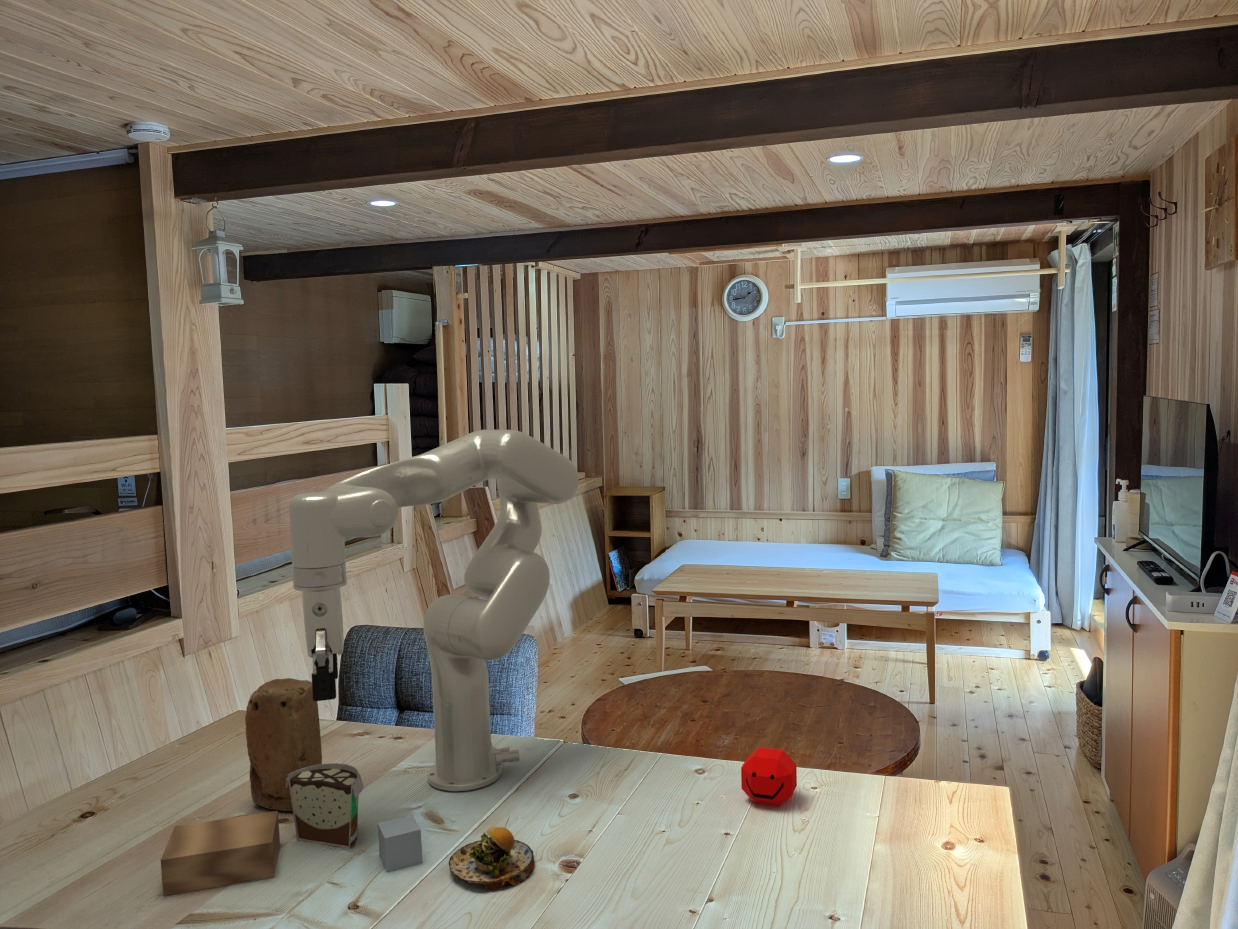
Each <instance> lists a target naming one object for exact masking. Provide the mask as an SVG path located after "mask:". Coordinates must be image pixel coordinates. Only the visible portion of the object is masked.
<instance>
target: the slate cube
mask: <svg viewBox="0 0 1238 929" xmlns="http://www.w3.org/2000/svg"><path fill="white" fill-rule="evenodd" d="M377 837H378V839H377V840H378V854H379V858H380V860H381V862H382V864H383V867H384V869H385V871H386V873H389V872H392V871H397V870H401V869H404V868H408V867H412V866H417V865H420V864H423V863H424V861H423V849H422V848H423V846H422V845H423V844H422V829H421V827H420V826H419V824H418V823H417V820H416V819H415V817H414V816H413V814H411V815H405V816H402V817H398V818H394V819H393V818H392V819H389V820H385V821H380V822H377Z"/></svg>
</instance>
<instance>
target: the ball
mask: <svg viewBox="0 0 1238 929" xmlns="http://www.w3.org/2000/svg"><path fill="white" fill-rule="evenodd" d="M797 772H798V771H797V763H796V762H795V761H794V760H793V759H792V758H791V756H790V755H788V753H787V752H785V750H783V749H777V748H769V747H758V748H756V750H754V751H753V752H752V753H751V754H750V755H749V756H748V757H747V758H746V759H745V761H744V762H743V764H742V766H741V767H740V776H741V778H740V780H741V790H742V791H743V792H744V794H745V795H746V796H747V797H748V798H749V799H750V800H751V801H752V802H753V803H754V804H756V805H763V806H772V807H781V806H782V805H783V804H784V803H785V802H787V801H788V800H789V799H790V798H791V797H792V796H793V794H794V792H795V790H796V789H797V785H798V783H797V782H798V776H797Z"/></svg>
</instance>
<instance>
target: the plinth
mask: <svg viewBox="0 0 1238 929" xmlns="http://www.w3.org/2000/svg"><path fill="white" fill-rule="evenodd" d="M280 838H281V836H280V824H279V810H273V811H268V812H262V813H261V812H260V813H255V814H247V815H240V816H234V817H227V818H222V819H221V818H220V819H213V820H206V821H201V822H200V821H199V822H194V823H188V824H187V823H186V824H181V825H175V826H174V827H173V829H172V832H171V835H170V836H169V839H168V842H167V844H166V846H165V848H164V850H163V854H162V855H161V858H160V870H161V882H162V896H163V897H166V896H172V895H177V894H184V893H189V892H194V891H200V890H206V889H212V888H218V887H224V886H230V885H235V884H242V883H248V882H254V881H260V880H266V879H270V878H275V875H276V868H277V864H278V858H279V852H280V846H281V839H280ZM165 895H166V896H165Z"/></svg>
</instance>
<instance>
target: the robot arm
mask: <svg viewBox="0 0 1238 929" xmlns="http://www.w3.org/2000/svg"><path fill="white" fill-rule="evenodd" d="M492 479H496V487H497V492H498V498H499V503H500V507H499V515H498V517H497V521H496V523H495V524H494V526H493V527H492V529H491V531H490V532H489V534H488V535H487V537H486V538H485V540H484V541H483V542H482V544H481V545H480V547H479V548H478V549H477V550H476V552H475V554H474V555H473V556H472V558H471V559H470V561H469V563H468V564H467V566H466V569H465V571H464V575H463V577H464V578H463V580H464V581H463V582H464V586H465V587H466V589H467V590H468V591H469V593H471V594H472V595H474V596H476V597H474V596H469V595H463V594H454V593H453V594H445V595H442V596H439V597H437V598H436V599H434V600H433V601H432V602H431V603H430V605H429V606H428V607H427V608H426V610H425V614H424V616H423V622H422V624H423V626H422V627H423V635H424V639H425V643H426V644H425V645H426V648H427V649H426V650H427V652H428V653H427V654H428V656H429V664H430V672H431V681H432V682H431V684H432V688H431V689H432V706H433V707H432V708H433V711H432V712H433V725H434V726H433V727H434V729H433V730H434V745H435V746H434V747H435V764H433V765H432V767H430V768H429V770H428V772H427V782H428V783H429V784H430V785H431V786H432V787H433V788H435V789H438V790H441V791H447V792H465V791H466V792H467V791H472V790H477V789H480V788H484V787H487V786H489V785H491V784H493V783H494V782H496V781H497V780H498V779H499V778H500V777H501V775H502V771H503V770H502V769H503V767H502V764H503V763H513V762H514V763H515V762H519V761H520V760H521V758H520V751H519V749H513V750H511V749H510V748H511V747H510V746H506V747H500V748H497V747H494V745H493V743H492V733H491V732H492V731H491V726H492V725H491V710H490V709H491V708H490V706H491V705H490V689H489V687H490V683H489V682H490V680H489V672H488V671H489V670H488V665H487V662H486V661H495V660H500V659H502V658H503V657H505V656H506V655H507V654H509V653H510V651H511V650H512V649H513V648H514V647H515V646H516V645H517V643H518V641H519V640H520V638H521V637H522V635H523V634H524V632H525V631H526V629H527V627H528V625H529V624H530V623H531V621H532V619H533V618H534V617H535V614H536V613H537V611H538V610H539V608H540V606H541V605H542V604H543V601H544V599H545V598H546V596H547V593H548V590H549V585H550V577H551V576H550V568H549V566H548V563H547V561H546V560H545V559H544V557H543V556H542V555H541V554H538V553H537V552H535V551H536V549H537V546H538V545H539V543H540V540H541V538H542V532H543V531H542V530H543V529H542V528H543V527H542V521H541V516H540V510H539V505H538V503H539V504H546V505H548V504H549V505H560V504H563V503H567V502H568V501H570V500H571V499H572V498H573V497H574V496H575V494H576V493H577V491H578V488H579V483H580V478H579V472H578V470H577V468H576V466H575V464H574V463H573V462H572V461H571V460H570V459H569V458H568V457H566V456H565V455H563V453H560V452H558V451H557V450H555V449H553V448H552V447H550V446H548V445H547V444H545V443H543V442H542V441H540V440H538V439H536V438H535V437H533V436H530V435H529V434H526V433H525V432H522V431H520V430H516V429H515V430H514V429H479V430H476V431H473V432H470V433H468V434H466V435H463V436H461V437H458V438H456V439H454V440H452V441H449V442H447V443H445V444H442V445H440V446H438V447H436V448H433V449H430V450H428V451H426V452H424V453H421V454H418V455H415V456H411V457H406V458H403V459H400V460H398V461H394V462H391V463H388V464H385V465H381V466H378V467H374V468H370V469H368V470H365V471H363V472H360V473H357V474H355V475H352V476H350V477H348V478H345V479H343V480H341V481H339V482H336V483H334V484H333V485H331V486H329V487H328V488H326V489H325V490H324V491H317V492H316V491H315V492H306V493H301V494H296V495H294V496H293V497H292V498H291V499H290V500H289V503H288V517H289V529H290V530H289V533H290V535H289V536H290V547H291V549H290V552H291V567H292V570H291V571H292V583H293V584H292V586H293V589H294V590H295V591H300V592H302V593H301V594H302V608H303V611H302V612H303V624H304V633H305V635H304V636H305V642H306V650H307V657H309V658H311V659H312V673H311V682H312V692H313V700H314V701H317V702H320V701H329V700H330V701H331V700H335V699H336V698H337V684H336V683H337V681H336V680H337V679H338V678H339V670H338V669H339V666H338V665H339V664H338V656H341V655H342V654H343V652H344V647H345V646H344V644H345V641H344V640H345V639H344V623H343V622H344V621H343V604H342V594H341V588H342V587H344V586H347V585H348V583H347V580H348V579H347V566H346V565H347V564H346V544H345V542H346V541H345V539H347V538H375V537H378V536H383V535H384V534H386V533H388V532H389V531H390V530H391V529H392V528H393V527H394V526H395V524H396V523H397V521H398V518H399V508H405V507H415V506H427V505H432V504H436V503H441V502H444V501H447V500H449V499H451V498H453V497H455V496H457V495H459V494H460V493H462V492H464V491H466V490H468V489H471V488H472V487H475V486H478V485H479V484H480V483H482V482H485V481H488V480H492Z"/></svg>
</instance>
